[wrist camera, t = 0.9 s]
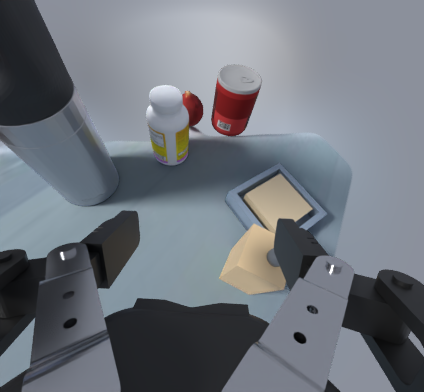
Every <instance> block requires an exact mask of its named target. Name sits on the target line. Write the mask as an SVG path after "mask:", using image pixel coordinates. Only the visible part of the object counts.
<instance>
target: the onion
mask: <svg viewBox="0 0 424 392" xmlns="http://www.w3.org/2000/svg"><path fill="white" fill-rule="evenodd" d="M182 96H183V105H184V106H185V107H186V109H187V111H188V114H189V126H194V125H196V124H197V123H198V122H199V121H200V120H201V118H202V116H203V105H202V103H201V101H200V100H199V98H198V97H197V96H195V95H194V94H192V93H191V92H190V91H185V94H182Z"/></svg>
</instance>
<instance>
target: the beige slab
mask: <svg viewBox="0 0 424 392" xmlns="http://www.w3.org/2000/svg"><path fill="white" fill-rule="evenodd" d="M242 201H243V202H244V203H245V205H246V206H247V207H248V208H249V210H250V211H251V212H252V213H253V215H254V216H255V217H256V218H257V220H258V221H259V222H260V224H261V225H262V226H263V227H264V229H266V230H268V231H270V232H272V233H275V232H276V226H277V221H278V219H279V218H285V219H293V220H294V221H295V222H296V221H297V220H298V219H300V218H301V217H303V216H304V215H305V214H307V213H308V212H309V211H311V210H312V207H311V206H310V205H309V204H308V203H307V202H306V201H305V200H304V199H303V198H302V197H301V195H300V194H299V193H298V192H297V191H296V190H295V189H294V188H293V187H292V186H291V185H290V183H289V182H288V181H287V180H286V179H285V178H284V177H283V176H282V175H281V174H279V175H277V176H275V177H274V178H272V179H270V180H269V181H267V182H265V183H263V184H262V185H260V186H258V187H257V188H255V189H253V190H252V191H250V192H248V193H247V194H246V195H245V196H244V198H243V200H242Z"/></svg>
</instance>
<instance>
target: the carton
mask: <svg viewBox="0 0 424 392" xmlns="http://www.w3.org/2000/svg"><path fill="white" fill-rule="evenodd" d="M274 239H275V233H272V232H270V231H268V230H266V229H264V228H262V227H260V226H258V225H256V224H253V225H252V226H251V227H250V229H249V230H248V231H247V232H246V233H245V234H244V235H243V237H242V238H241V239H240V240H239V241H238V242H237V244H236V245H235V246H234V247H233V248H232V250H231V252H230V254H229V257H228V259H227V261H226V264H225V266H224V268H223V270H222V273H221V275H220V277H219V279H221V280H222V281H224V282H226V283H228V284H230V285H232V286H234V287H236V288H238V289H240V290H241V291H243V292H245V293H247V294H249V295H251V294H257V293H264V292H271V291H278V290H284V287H285V284H286V280H285V277H284V275H283V273H282V270H281V268H280V265H279V263H278V261H277V258H276V256H275V253H274Z"/></svg>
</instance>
